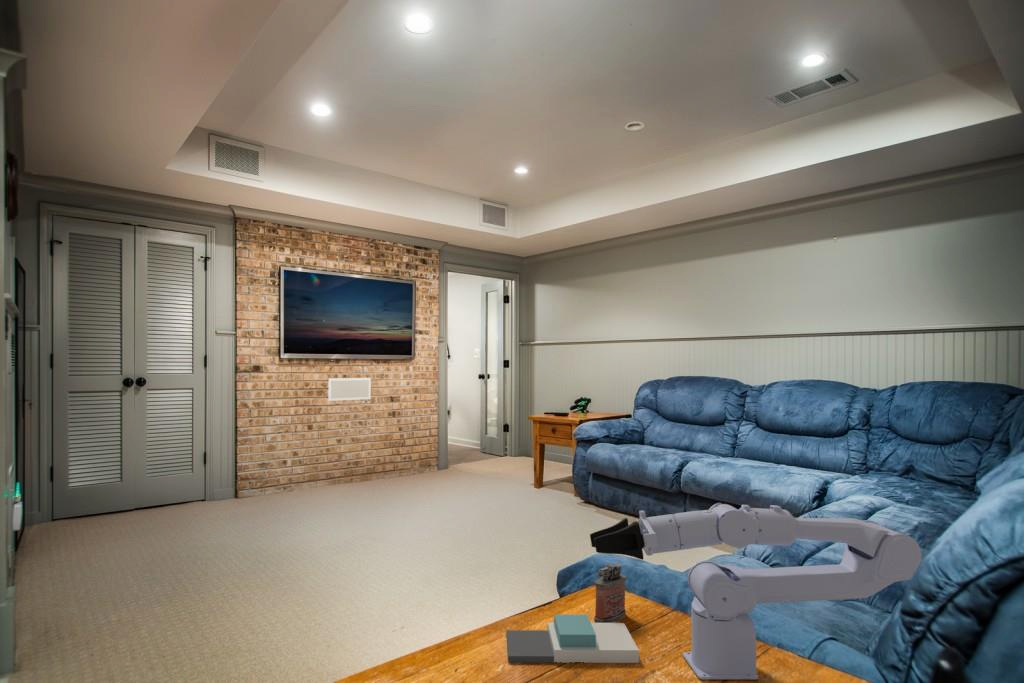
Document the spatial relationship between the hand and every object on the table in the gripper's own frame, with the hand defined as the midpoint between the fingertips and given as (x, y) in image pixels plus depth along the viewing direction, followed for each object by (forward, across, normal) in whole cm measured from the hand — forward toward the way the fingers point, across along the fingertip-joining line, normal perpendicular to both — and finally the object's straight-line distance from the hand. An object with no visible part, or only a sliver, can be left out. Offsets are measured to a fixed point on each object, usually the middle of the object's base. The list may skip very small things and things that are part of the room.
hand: (593, 542), depth 93 cm
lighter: (-3, -21, +17) cm, 27 cm away
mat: (+13, -7, +16) cm, 22 cm away
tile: (+5, -8, +16) cm, 18 cm away
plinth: (+2, -9, +18) cm, 20 cm away
